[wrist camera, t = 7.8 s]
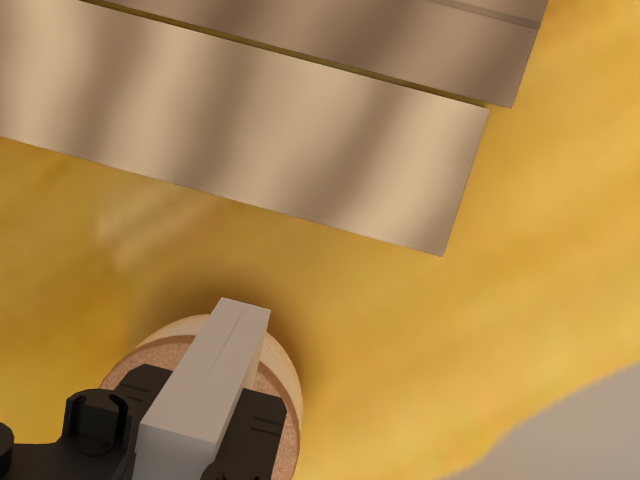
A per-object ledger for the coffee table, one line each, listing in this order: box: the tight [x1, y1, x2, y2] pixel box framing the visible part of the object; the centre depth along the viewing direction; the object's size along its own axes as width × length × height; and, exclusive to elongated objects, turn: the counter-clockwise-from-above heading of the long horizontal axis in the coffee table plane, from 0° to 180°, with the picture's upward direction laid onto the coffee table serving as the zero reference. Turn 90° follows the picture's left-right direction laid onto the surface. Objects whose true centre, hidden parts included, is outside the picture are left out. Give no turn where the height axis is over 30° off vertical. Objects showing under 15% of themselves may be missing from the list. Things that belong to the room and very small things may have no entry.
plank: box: [0, 0, 490, 257], centre depth 33 cm, size 28×8×2 cm, turn 76°
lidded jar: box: [99, 314, 303, 480], centre depth 34 cm, size 11×11×9 cm
